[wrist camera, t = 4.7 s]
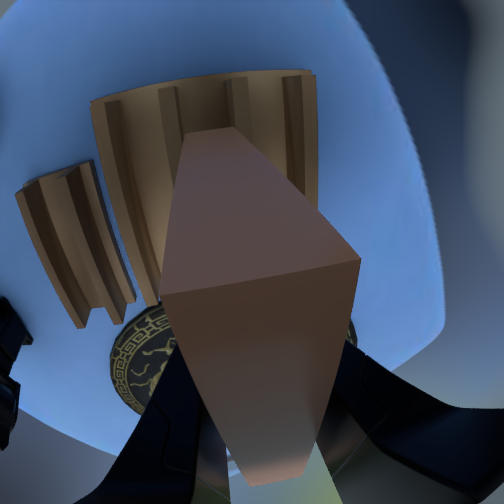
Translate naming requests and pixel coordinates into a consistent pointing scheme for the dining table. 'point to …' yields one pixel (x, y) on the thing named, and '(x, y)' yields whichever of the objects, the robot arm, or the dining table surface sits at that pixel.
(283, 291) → the wooden block
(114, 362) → the decorative plate
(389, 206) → the dining table surface
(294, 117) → the rack
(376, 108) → the dining table surface
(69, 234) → the holder
